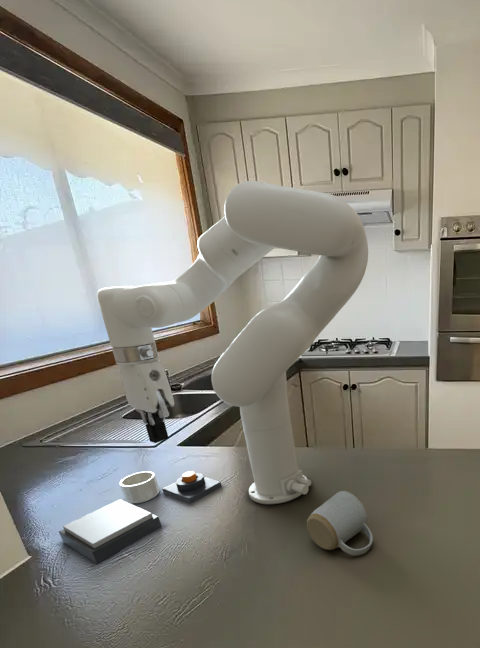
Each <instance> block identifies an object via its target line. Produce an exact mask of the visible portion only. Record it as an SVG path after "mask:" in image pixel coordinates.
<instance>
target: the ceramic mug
mask: <svg viewBox="0 0 480 648" xmlns="http://www.w3.org/2000/svg"><path fill="white" fill-rule="evenodd" d="M367 524H368V514H367V511H366V509H365V506H364V505H363V503H362V502H361V501H360V500H359V499H358V498H357V497H356V496H355V495H354V494H353V493H351V492H350V491H346V490H340V491H337V492H336V493H335V494H334V495H332V496H331V497H330V498H329V499H328V500H326V501H325V502H323V503H322V504H321V505H319V506H318V507H317V508H316V509H314V510H313V512H311V514H309V516H308V518H307V519H306V528H307V529H306V530H307V532H308V534H309V536H310V538H311V539H312V540H313V542H314V543H315V544H316V545H317V546H318V547H320V548H321V549H324V550H327V551H333V550H335V549H338V548H339V549H341V551H343V552H344V553H346V554H349V556H350V555H351V556H361V555H364V554H366V553H367V552H368V551H369V550H370V549H371V547H372V545H373V542H374V538H373V534H372V532H371V529H370V528H369V527H368V525H367ZM361 531H363V532H364V534H365V535H366V536H367V538H368V544H367V545H365V546H364V547H361V548H353V547H351V546H348V544H346V542H348V541H349V540H351V539H352V538H353V537H354V536H356V535H357V534H358V533H361Z"/></svg>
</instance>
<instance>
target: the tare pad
mask: <svg viewBox="0 0 480 648" xmlns="http://www.w3.org/2000/svg"><path fill="white" fill-rule="evenodd" d="M195 474H196V477H197V479H196V480H194V481H191V482H186V483H184V482H183V479H182V475H181V476H180V477H178V478H177V479H176V480H175V481H174V482H172V483H170V484H168V485H166V486H164V487H162V492H163V494H164V495H166V496H169V497H171V498H175V499H177V500H179V501H182V502H183V503H184V502H185V503H187V504H189V505H192V504H193V503H195V502H198V501H199V500H200V499H202V498H204V497H206V496H208V495H209V494H212V493H213V492H215V491H217V490H219V489H221V488H222V483H221V481H220V480H217V479H214V478H211V477H207V476H204V474H203V473H202V472H195Z"/></svg>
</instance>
